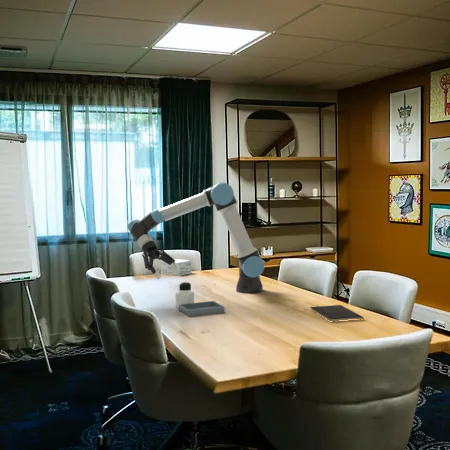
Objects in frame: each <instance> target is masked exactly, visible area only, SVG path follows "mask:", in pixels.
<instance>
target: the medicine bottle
mask: <svg viewBox="0 0 450 450" xmlns="http://www.w3.org/2000/svg"><path fill="white" fill-rule="evenodd" d="M191 287H192V285H191V282H189V281H188V282H186V281H185V282H180V283H178V292H176V293H175V308H176V309H179V304H189V303H195V292H194V291H192V288H191Z"/></svg>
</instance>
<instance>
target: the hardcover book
mask: <svg viewBox="0 0 450 450" xmlns="http://www.w3.org/2000/svg"><path fill="white" fill-rule="evenodd" d="M310 309H311V310H313V311H314V312H316V313H318V314H319V315H321V316H323V317H324V318H326V319H327V320H329V321H339V320H348V319H364V316H362V315H360V314H359V313H357V312H355V311H353V310H351V309H349V308H347V307H345V306H343V305H341V304H337V305H334V304H333V305H321V306H320V305H319V306H318V305H317V306H310ZM311 310H310V311H311ZM313 311H312V312H313ZM314 312H313V313H314ZM316 313H315V314H316ZM318 314H317V315H318ZM319 315H318V316H319ZM321 316H320V317H321ZM324 318H323V319H324ZM327 320H326V321H327ZM329 321H328V322H329Z"/></svg>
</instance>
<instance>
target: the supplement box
mask: <svg viewBox="0 0 450 450" xmlns="http://www.w3.org/2000/svg"><path fill="white" fill-rule="evenodd" d="M173 259H174V260H175V262H174V264H175V265H176V267H177V269H178V270H179V274H178V275H177V276H179V277H180V276H185V275H191V274H192V260H191V259H189V260H188V259H177V258H173ZM160 268H161V269H160V271H161V273H160V275H169V276H176V275H175V273H174V272H173V271H172V269H171V268H170V265H169V264H167V263H165V262H164V261H162V260H160ZM177 276H176V277H177Z"/></svg>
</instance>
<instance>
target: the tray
mask: <svg viewBox="0 0 450 450" xmlns="http://www.w3.org/2000/svg"><path fill="white" fill-rule="evenodd" d="M178 310H179V311H180V312H181V313H183V314H184V315H185V316H187V317H197V316H205V315H206V316H207V315H214V314H224V313H225V311H226V307H225V306H224V305H222V304H220V303H218V302H216V301H214V300H210V301H200V302H194V303H189V304H179V308H178Z"/></svg>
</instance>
